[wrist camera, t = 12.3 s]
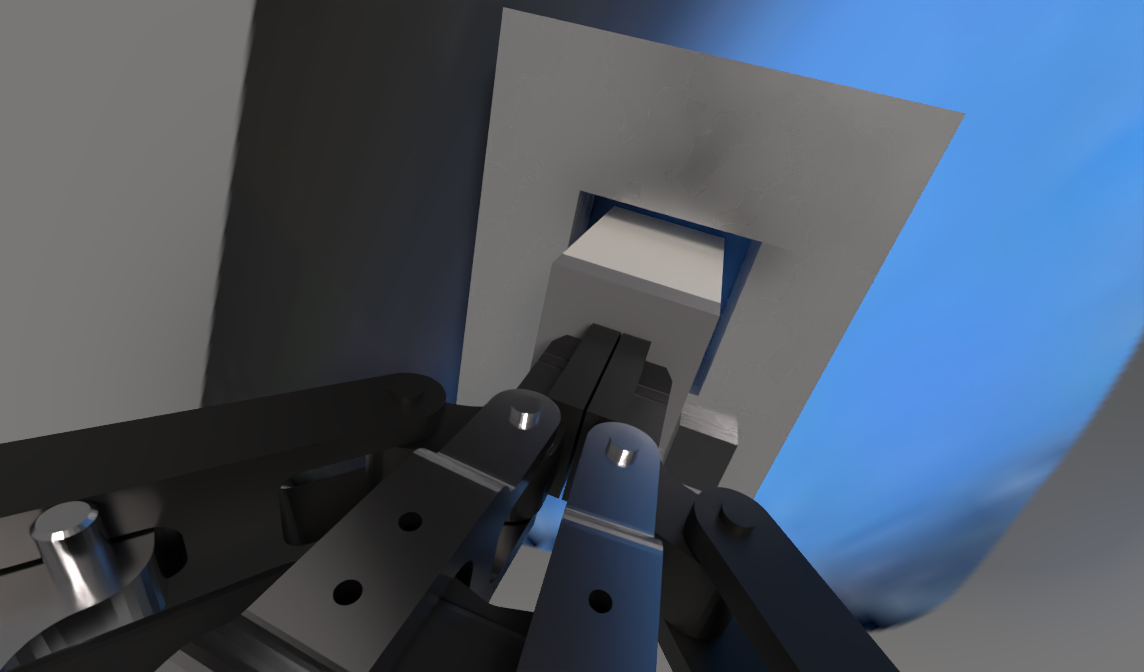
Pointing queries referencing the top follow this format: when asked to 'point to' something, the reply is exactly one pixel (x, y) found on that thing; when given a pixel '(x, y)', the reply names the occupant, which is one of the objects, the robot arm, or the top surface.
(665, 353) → the plug
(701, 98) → the socket
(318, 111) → the top surface
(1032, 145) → the top surface
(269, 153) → the top surface
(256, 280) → the top surface
